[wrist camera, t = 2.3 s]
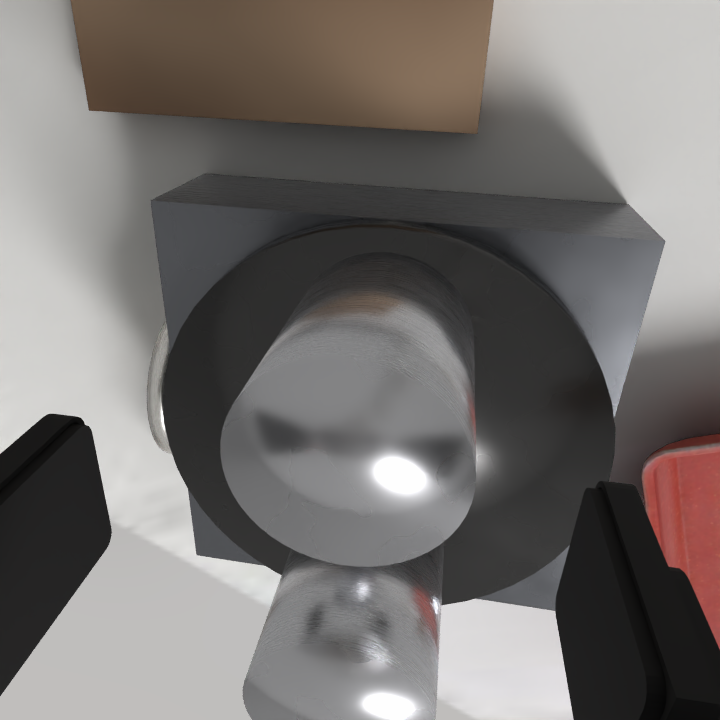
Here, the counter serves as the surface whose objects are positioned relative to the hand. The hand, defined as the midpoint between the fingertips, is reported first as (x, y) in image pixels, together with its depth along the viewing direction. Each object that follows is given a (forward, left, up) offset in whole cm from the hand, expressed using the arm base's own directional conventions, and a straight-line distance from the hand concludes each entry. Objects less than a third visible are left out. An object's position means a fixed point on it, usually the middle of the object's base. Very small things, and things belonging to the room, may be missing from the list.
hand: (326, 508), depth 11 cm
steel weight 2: (+7, 0, -7) cm, 10 cm away
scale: (+3, 0, -12) cm, 12 cm away
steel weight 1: (0, 0, -7) cm, 7 cm away
